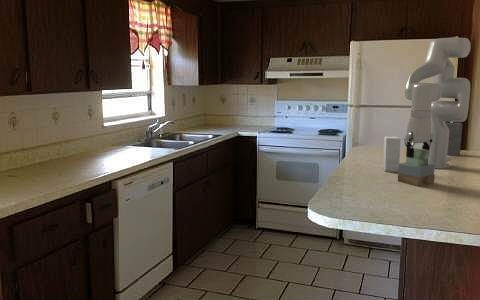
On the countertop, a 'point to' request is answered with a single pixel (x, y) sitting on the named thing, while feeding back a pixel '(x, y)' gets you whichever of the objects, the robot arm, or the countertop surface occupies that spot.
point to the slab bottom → (416, 180)
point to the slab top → (416, 170)
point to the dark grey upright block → (454, 138)
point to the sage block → (419, 157)
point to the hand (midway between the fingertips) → (417, 156)
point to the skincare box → (391, 153)
